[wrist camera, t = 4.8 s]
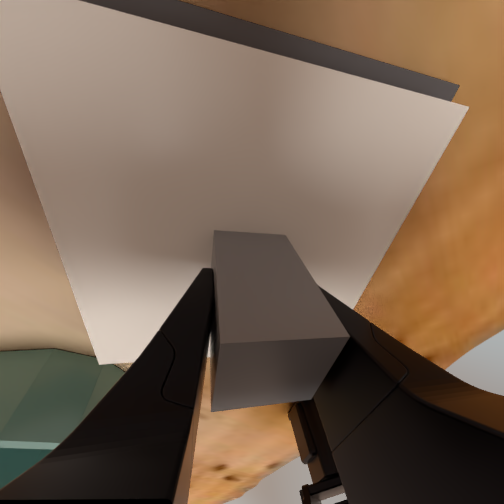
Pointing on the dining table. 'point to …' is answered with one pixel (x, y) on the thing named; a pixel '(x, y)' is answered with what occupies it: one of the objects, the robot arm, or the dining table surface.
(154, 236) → the lid
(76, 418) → the bowl
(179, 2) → the mat
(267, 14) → the dining table surface
